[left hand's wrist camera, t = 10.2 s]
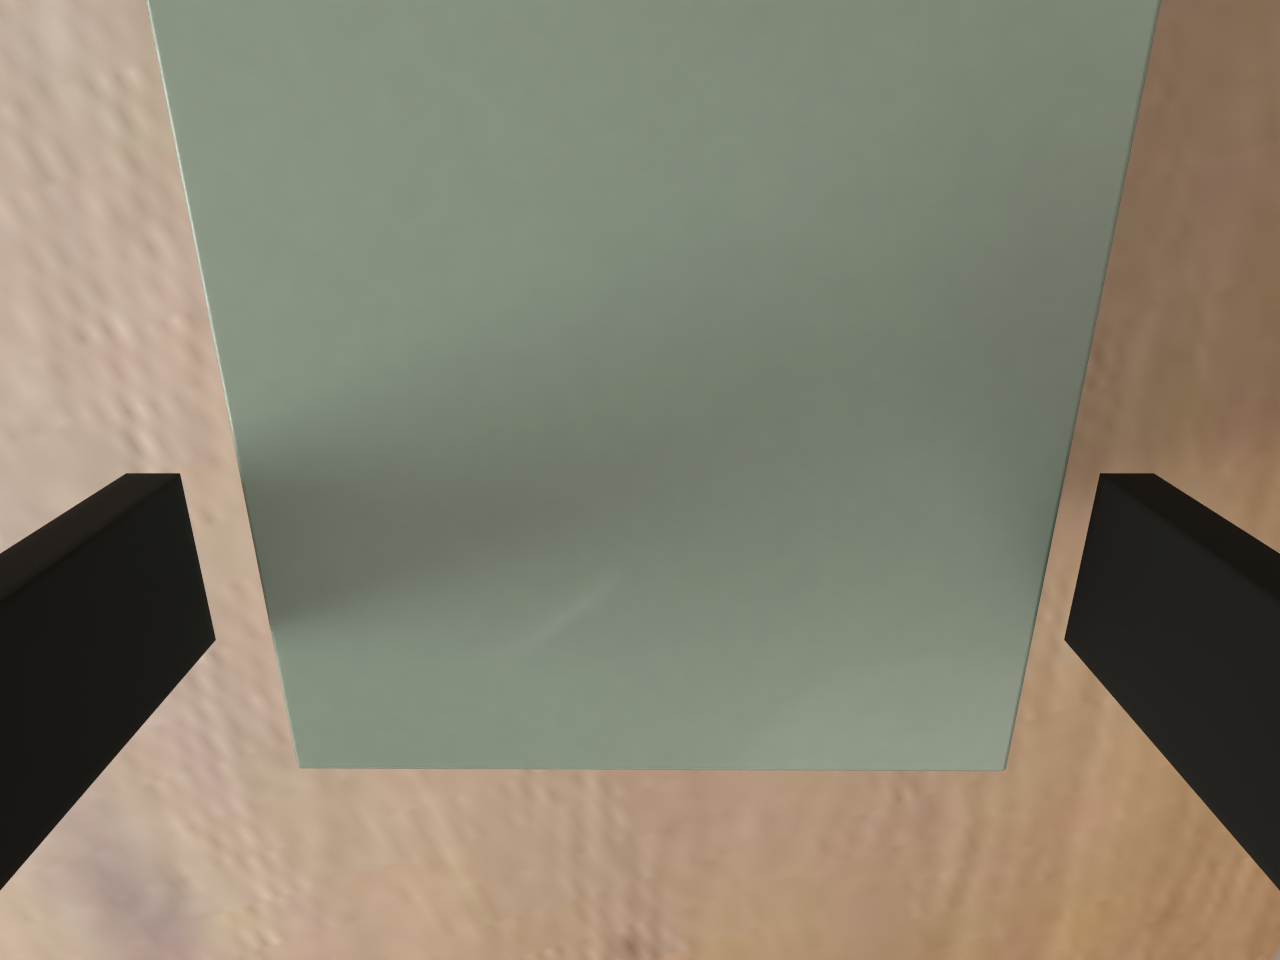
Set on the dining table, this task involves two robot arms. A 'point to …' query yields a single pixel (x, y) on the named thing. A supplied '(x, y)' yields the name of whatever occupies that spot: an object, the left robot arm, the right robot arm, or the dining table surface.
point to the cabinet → (652, 361)
